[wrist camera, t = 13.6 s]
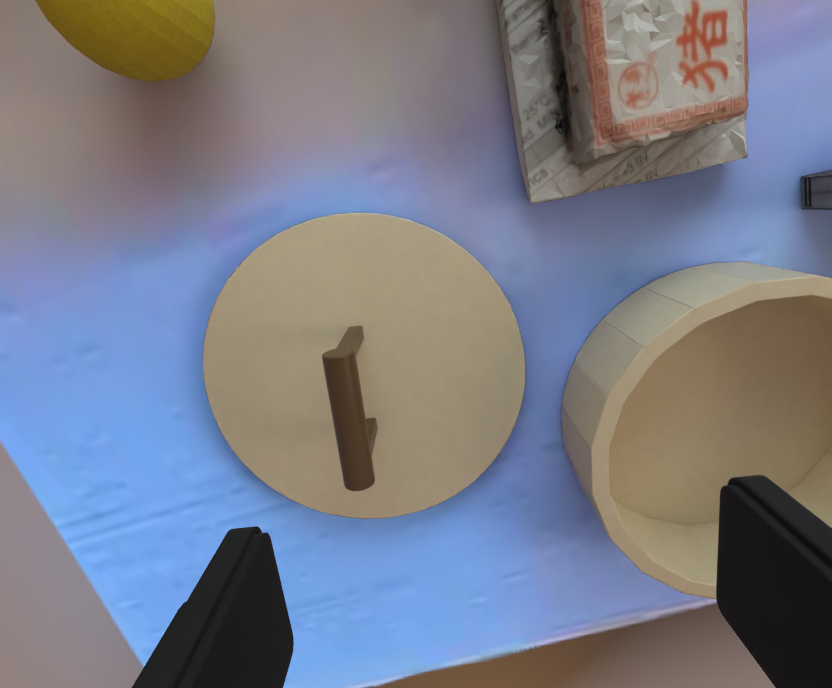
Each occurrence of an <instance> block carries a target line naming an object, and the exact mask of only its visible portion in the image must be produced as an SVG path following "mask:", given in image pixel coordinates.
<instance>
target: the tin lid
mask: <svg viewBox="0 0 832 688" xmlns="http://www.w3.org/2000/svg"><path fill="white" fill-rule="evenodd" d="M203 374H204V381H205V387H206V393H207V397H208V400H209V404H210V407H211V410H212V413H213V416H214V418H215V420H216V422H217V424H218V426H219V429H220V431H221V433H222V434H223V436H224V437H225V439H226V441H227V442H228V444H229V445H230V447H231V449H232V450H233V451H234V452H235V454H236V455H237V456H238V457H239V459H240V460H241V461H242V462H243V463H244V465H245V466H247V467H248V468H249V469H250V470H251V471H252V472H253V473H254V474H255V475H256V476H257V477H258V478H259V479H260V480H262V481H263V482H264V483H266V484H267V485H268V486H270V487H271V488H272V489H274V490H275V491H277V492H279V493H280V494H282V495H284V496H285V497H287V498H289V499H291V500H293V501H295V502H297V503H299V504H302V505H304V506H306V507H308V508H311V509H315V510H318V511H321V512H324V513H327V514H332V515H337V516H343V517H349V518H362V519H375V518H389V517H396V516H403V515H407V514H411V513H414V512H418V511H422V510H425V509H427V508H430V507H432V506H434V505H437V504H439V503H441V502H443V501H445V500H447V499H449V498H451V497H452V496H454V495H456V494H458V493H459V492H460V491H462V490H463V489H465V488H466V487H467V486H469V485H470V484H471V483H473V482H474V481H475V480H476V479H477V478H478V477H479V476H480V475H481V474H482V473H483V472H484V471H486V470H487V468H488V467H489V466H490V465H491V463H492V462H493V461H494V460H495V459H496V457H497V456H498V455H499V453H500V452H501V450H502V449H503V447H504V445H505V444H506V442H507V441H508V439H509V437H510V435H511V432H512V430H513V428H514V426H515V424H516V421H517V418H518V415H519V411H520V408H521V405H522V401H523V394H524V387H525V355H524V347H523V341H522V337H521V334H520V330H519V326H518V323H517V320H516V318H515V315H514V313H513V311H512V309H511V306H510V304H509V302H508V300H507V298H506V297H505V295H504V294H503V292H502V290H501V289H500V287H499V285H498V284H497V282H496V281H495V280H494V279H493V278H492V276H491V275H490V274H489V273H488V271H487V270H486V269H485V268H484V266H483V265H482V264H480V263H479V262H478V261H477V260H476V259H475V258H474V257H473V256H472V255H471V254H470V253H469V252H468V251H467V250H465V249H464V248H462V247H461V246H460V245H458V244H457V243H455V242H454V241H453V240H451V239H450V238H448V237H446V236H445V235H443V234H441V233H439V232H437V231H435V230H433V229H431V228H429V227H427V226H424V225H421V224H419V223H416V222H413V221H411V220H408V219H404V218H399V217H395V216H390V215H386V214H375V213H363V212H361V213H342V214H335V215H330V216H324V217H319V218H315V219H312V220H309V221H306V222H303V223H300V224H297V225H294V226H292V227H290V228H288V229H286V230H284V231H282V232H281V233H279V234H277V235H275V236H273V237H272V238H270V239H269V240H267V241H266V242H265V243H263V244H262V245H260V246H259V247H257V248H256V249H255V250H254V251H253V252H252V253H251V254H250V255H249V256H248V257H247V258H246V259H244V260H243V261H242V262H241V263H240V265H239V266H238V267H237V268H236V270H235V271H234V272H233V273H232V275H231V276H230V277H229V278H228V280H227V282H226V283H225V285H224V287H223V288H222V290H221V292H220V294H219V295H218V297H217V299H216V302H215V304H214V307H213V309H212V312H211V314H210V317H209V321H208V325H207V329H206V333H205V339H204V349H203Z"/></svg>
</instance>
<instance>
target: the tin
mask: <svg viewBox="0 0 832 688" xmlns="http://www.w3.org/2000/svg"><path fill="white" fill-rule="evenodd" d="M561 426H562V435H563V445H564V448H565V450H566V453H567V455H568V458H569V460H570V462H571V465H572V467H573V469H574V472H575V474H576V476H577V479H578V481H579V483H580V485H581V487H582V488H583V490H584V492H585V494H586V496H587V498H588V500H589V501H590V503H591V505H592V507H593V509H594V511H595V512H596V514H597V516H598V518H599V520H600V522H601V523H602V525H603V527H604V529H605V531H606V533H607V534H608V536H609V538H610V539H611V541H612V542H613V543H614V544H615V545H616V546H617V547H618V548H619V549H620V550H621V551H622V552H623V553H624V554H625V555H626V556H627V557H628V558H629V559H630V561H631V562H632V563H633V564H634V565H635V566H636V567H637V568H638V569H639V570H640V571H642V572H643V573H645V574H647V575H649V576H651V577H653V578H655V579H657V580H658V581H660V582H662V583H664V584H666V585H668V586H670V587H672V588H674V589H676V590H678V591H680V592H682V593H685V594H690V595H696V596H701V597H707V598H712V599H716V581H717V557H718V532H719V507H720V491H721V488H722V487H723V486H727V484H728V481H729V479H731V478H733V477H743V476H752V475H764V476H766V477H767V478H769V479H770V480H771V481H772V482H774V483H775V484H776V485H778V486H779V487H780V488H781V489H783V490H784V491H785V492H786V493H788V494H789V495H790V496H792V497H793V498H794V499H795V500H797V501H798V502H799V503H800V504H802V505H803V506H804V507H805V508H807V509H808V510H809V511H811V512H812V513H813V514H814V515H816V516H817V517H818V518H819V519H821V520H822V521H823V522H825V523H826V524H827V525H828V526H830V527H831V528H832V278H828V277H823V276H818V275H813V274H808V273H803V272H797V271H792V270H787V269H782V268H777V267H771V266H766V265H761V264H756V263H751V262H746V261H738V262H725V263H711V264H705V265H699V266H694V267H689V268H687V269H683V270H680V271H677V272H673V273H671V274H668V275H666V276H664V277H662V278H659V279H657V280H655V281H652V282H651V283H649V284H647V285H646V286H644V287H642V288H640V289H639V290H637V291H635V292H634V293H632V294H631V295H630V296H628V297H627V298H626V299H624V300H623V301H622V302H620V303H619V304H618V305H617V306H615V307H614V308H613V309H612V310H611V311H610V312H609V313H608V314H607V315H606V316H605V317H604V318H603V319H602V320H601V321H600V322H599V324H598V325H597V326H596V327H595V329H594V330H593V331H592V332H591V333H590V335H589V336H588V338H587V339H586V341H585V342H584V344H583V346H582V347H581V349H580V350H579V352H578V354H577V356H576V358H575V360H574V363H573V365H572V367H571V369H570V372H569V375H568V378H567V381H566V384H565V388H564V394H563V400H562V408H561Z"/></svg>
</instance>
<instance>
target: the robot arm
mask: <svg viewBox="0 0 832 688" xmlns="http://www.w3.org/2000/svg"><path fill="white" fill-rule="evenodd" d="M716 599H717V603H718V606H719V609H720V611H721V613H722V615H723V616H724V618H725V619H726V621H727V622H728V623H729V625H730V626H731V627H732V629H733V630H734V631H735V633H736V634H737V636H738V637H739V638H740V640H741V641H742V642H743V644H744V645H745V646H746V648H747V649H748V650H749V652H750V653H751V655H752V656H753V657H754V659H755V660H756V661H757V663H758V664H759V665H760V667H761V668H762V670H763V671H764V672H765V674H766V675H767V676H768V678H769V679H770V680H771V682H772V683H773V684H774V686H775V687H776V688H832V528H831V527H830V526H828V525H827V524H826V523H825V522H823V521H822V520H821V519H819V518H818V517H817V516H816V515H814V514H813V513H812V512H811V511H809V510H808V509H807V508H805V507H804V506H803V505H802V504H800V503H799V502H798V501H797V500H795V499H794V498H793V497H792V496H790V495H789V494H788V493H786V492H785V491H784V490H783V489H781V488H780V487H779V486H778V485H776V484H775V483H774V482H772V481H771V480H770V479H769V478H767V477H766V476H764V475H752V476H743V477H733V478H731V479H729V481H728V484H727V486H723V487H722V488H721V491H720V507H719V532H718V557H717V581H716ZM292 653H293V633H292V629H291V624H290V620H289V616H288V611H287V607H286V603H285V598H284V594H283V590H282V585H281V581H280V577H279V573H278V568H277V564H276V560H275V555H274V551H273V547H272V542H271V538H270V535H269V534H268V533H262V532H261V530H260V528H259V527H247V528H237V529H231V530H229V531H228V533H227V534H226V536H225V538H224V539H223V541H222V543H221V544H220V546H219V548H218V549H217V551H216V553H215V554H214V556H213V558H212V560H211V561H210V563H209V565H208V566H207V568H206V570H205V571H204V573H203V575H202V577H201V578H200V580H199V582H198V583H197V585H196V587H195V588H194V590H193V592H192V593H191V595H190V597H189V599H188V600H187V602H185V603H183V605H182V606H181V607H180V609H179V610H178V611H177V613H176V615H175V616H174V618H173V620H172V621H171V623H170V625H169V627H168V628H167V630H166V632H165V633H164V635H163V637H162V638H161V640H160V642H159V643H158V645H157V647H156V648H155V650H154V652H153V653H152V655H151V657H150V658H149V660H148V662H147V663H146V665H145V667H144V668H143V670H142V672H141V673H140V675H139V677H138V678H137V680H136V682H135V683H134V685H133V687H132V688H283V685H284V682H285V678H286V675H287V671H288V668H289V664H290V661H291V657H292Z"/></svg>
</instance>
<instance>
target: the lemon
mask: <svg viewBox="0 0 832 688" xmlns="http://www.w3.org/2000/svg"><path fill="white" fill-rule="evenodd" d="M35 1H36V2H37V4H38V6H39V7H40V9H41V11H42V12H43V14H44V15H45V17H46V18H47V20H48V21H49V22H50V23H51V24H52V25H53V26H54V28H55V29H56V30H57V31H58V32H59V33H60V34H61V35H62V36H63V37H64V38H65V39H66V41H67V42H69V43H70V44H71V45H72V46H73V47H74V48H76V49H77V50H78V51H80V52H81V53H82V54H84V55H85V56H87V57H88V58H89V59H91V60H92V61H94V62H95V63H97V64H98V65H100V66H101V67H103V68H105V69H107V70H110V71H112V72H115V73H117V74H120V75H122V76H125V77H128V78H131V79H137V80H145V81H155V82H157V81H163V80H170V79H176V78H178V77H180V76H182V75H184V74H186V73H188V72H190V71H191V70H192V69H193V68H194V67H196V66H197V65H198V64H199V63H200V62H201V61H202V59H203V58H204V56H205V54H206V53H207V51H208V49H209V47H210V44H211V41H212V37H213V34H214V20H215V13H214V7H213V1H212V0H35Z"/></svg>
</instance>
